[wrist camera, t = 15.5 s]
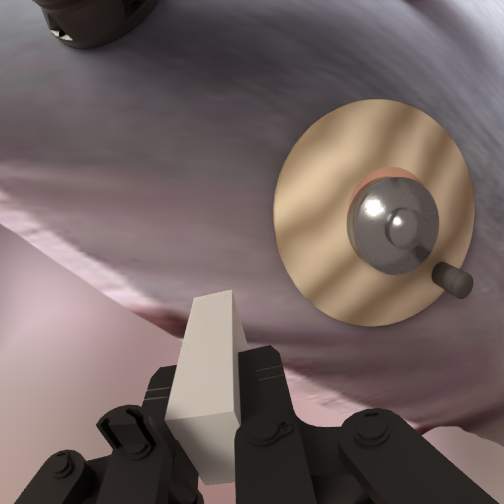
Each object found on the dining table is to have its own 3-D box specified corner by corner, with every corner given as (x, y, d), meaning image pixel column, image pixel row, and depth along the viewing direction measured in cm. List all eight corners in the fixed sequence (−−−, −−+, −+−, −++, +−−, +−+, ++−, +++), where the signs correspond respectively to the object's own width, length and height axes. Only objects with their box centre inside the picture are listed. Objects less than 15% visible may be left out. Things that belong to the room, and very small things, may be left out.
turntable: (222, 228, 33) (219, 242, 27) (369, 60, 30) (396, 40, 23) (377, 353, 39) (399, 382, 32) (490, 208, 35) (524, 216, 28)
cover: (327, 227, 32) (341, 236, 28) (385, 157, 31) (406, 155, 26) (387, 284, 34) (405, 298, 30) (438, 218, 32) (461, 224, 28)
